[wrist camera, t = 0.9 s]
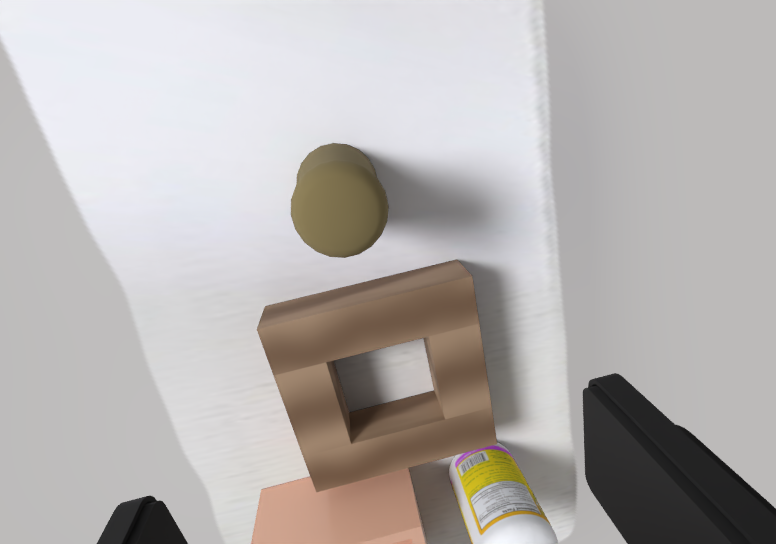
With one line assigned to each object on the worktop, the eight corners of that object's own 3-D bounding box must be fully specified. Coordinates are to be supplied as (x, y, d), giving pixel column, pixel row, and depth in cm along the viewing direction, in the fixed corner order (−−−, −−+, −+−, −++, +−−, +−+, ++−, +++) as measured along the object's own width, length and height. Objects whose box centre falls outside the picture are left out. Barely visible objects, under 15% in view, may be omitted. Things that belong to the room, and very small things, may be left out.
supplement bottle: (498, 492, 44) (560, 632, 32) (438, 486, 43) (481, 629, 30) (520, 441, 42) (597, 569, 30) (459, 432, 41) (513, 563, 29)
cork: (394, 189, 32) (424, 221, 22) (334, 241, 33) (336, 295, 22) (340, 124, 30) (346, 126, 20) (278, 180, 31) (252, 210, 20)
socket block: (265, 306, 34) (256, 329, 30) (456, 259, 34) (472, 276, 31) (317, 457, 39) (316, 492, 36) (481, 414, 40) (497, 444, 36)
